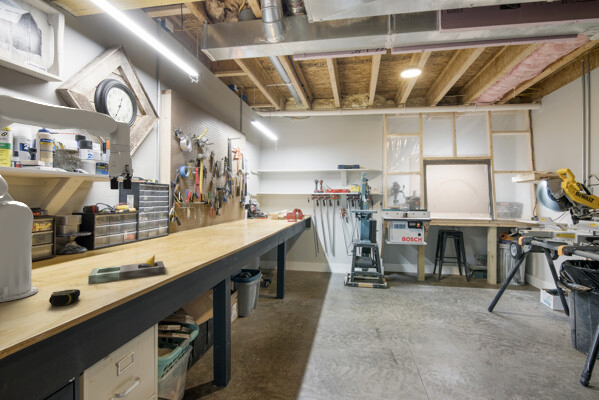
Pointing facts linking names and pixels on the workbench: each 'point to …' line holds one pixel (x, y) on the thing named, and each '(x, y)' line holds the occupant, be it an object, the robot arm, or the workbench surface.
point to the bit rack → (124, 272)
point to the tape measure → (64, 297)
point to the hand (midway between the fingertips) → (120, 189)
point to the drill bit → (149, 263)
